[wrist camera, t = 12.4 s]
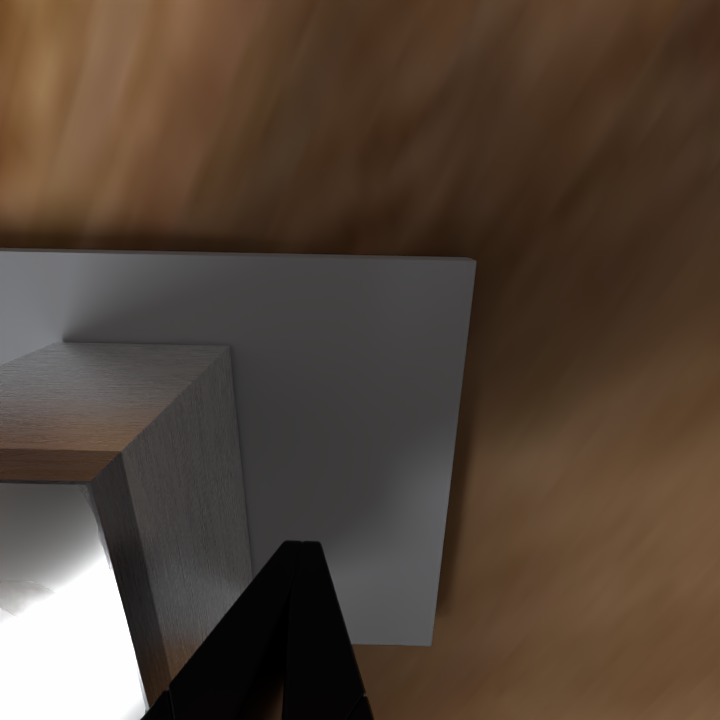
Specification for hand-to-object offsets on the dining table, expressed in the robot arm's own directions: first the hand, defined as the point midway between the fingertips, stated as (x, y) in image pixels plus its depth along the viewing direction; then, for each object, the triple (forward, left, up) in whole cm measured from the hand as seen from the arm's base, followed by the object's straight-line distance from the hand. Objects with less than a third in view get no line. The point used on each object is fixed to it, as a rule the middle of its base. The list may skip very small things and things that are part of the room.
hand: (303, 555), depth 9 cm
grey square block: (0, +4, -3) cm, 5 cm away
